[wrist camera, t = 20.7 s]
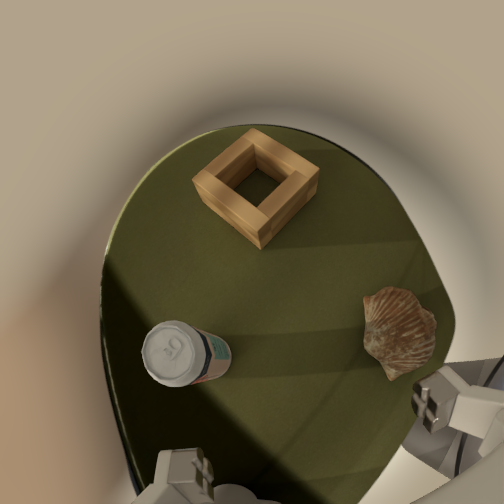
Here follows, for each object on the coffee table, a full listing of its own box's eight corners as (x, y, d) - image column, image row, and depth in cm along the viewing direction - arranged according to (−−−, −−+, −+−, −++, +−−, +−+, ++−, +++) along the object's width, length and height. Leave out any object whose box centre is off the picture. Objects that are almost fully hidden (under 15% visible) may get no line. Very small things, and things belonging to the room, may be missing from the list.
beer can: (180, 360, 29) (124, 357, 18) (204, 326, 30) (160, 304, 19) (215, 387, 28) (175, 402, 17) (241, 351, 29) (215, 346, 18)
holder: (316, 192, 35) (319, 168, 30) (261, 250, 33) (257, 231, 28) (256, 152, 38) (252, 127, 33) (202, 201, 36) (191, 178, 31)
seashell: (366, 384, 27) (429, 356, 26) (383, 396, 20) (459, 358, 20) (342, 304, 30) (405, 280, 29) (353, 295, 23) (430, 264, 23)
